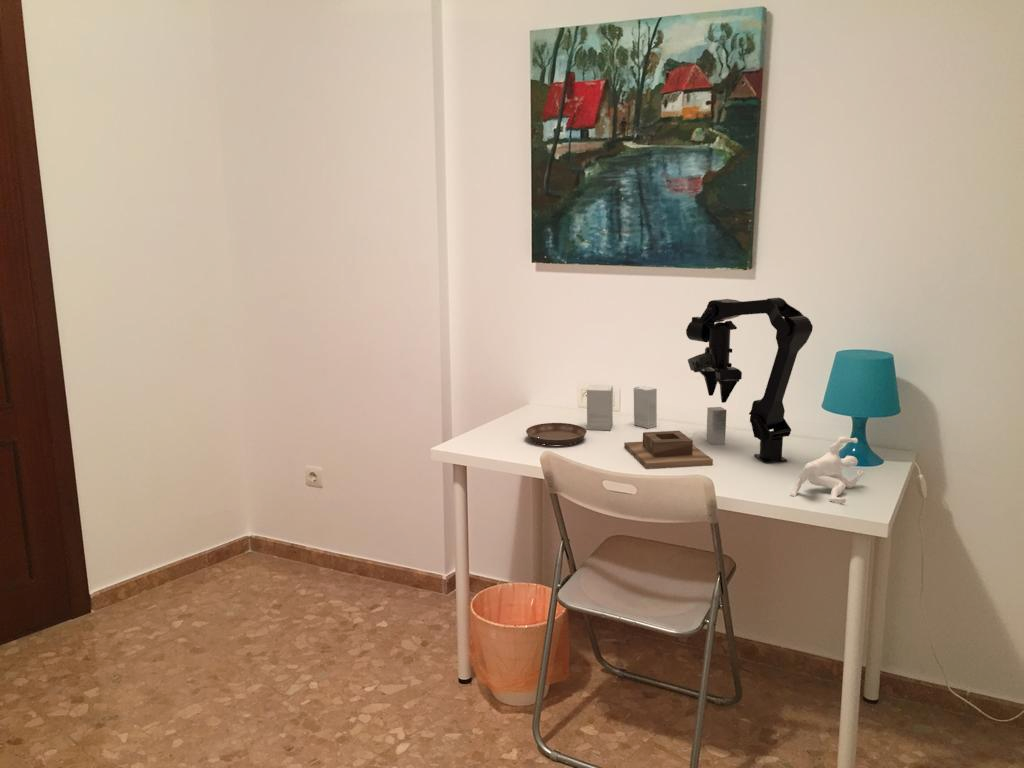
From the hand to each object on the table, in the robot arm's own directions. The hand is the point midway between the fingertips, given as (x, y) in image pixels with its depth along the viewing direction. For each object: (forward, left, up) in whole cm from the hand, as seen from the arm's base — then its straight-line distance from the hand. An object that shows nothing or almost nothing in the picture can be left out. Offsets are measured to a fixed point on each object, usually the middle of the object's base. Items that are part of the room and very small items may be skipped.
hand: (717, 398), depth 237 cm
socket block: (-10, +18, -13) cm, 24 cm away
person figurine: (-44, -10, -13) cm, 47 cm away
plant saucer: (+12, +44, -13) cm, 47 cm away
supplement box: (+23, +28, -13) cm, 38 cm away
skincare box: (+22, +14, -13) cm, 29 cm away
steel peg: (0, 0, -13) cm, 13 cm away
